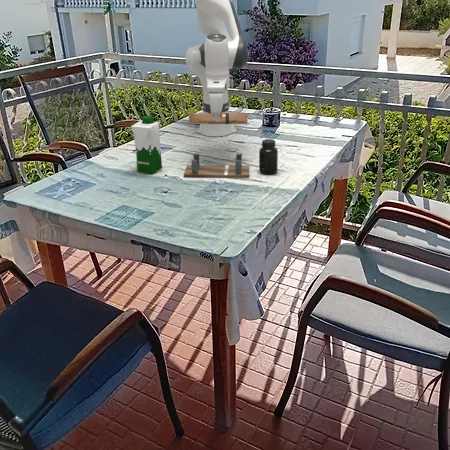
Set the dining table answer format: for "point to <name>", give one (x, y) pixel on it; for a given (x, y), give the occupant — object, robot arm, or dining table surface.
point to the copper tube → (224, 118)
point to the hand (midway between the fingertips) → (218, 119)
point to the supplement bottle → (268, 157)
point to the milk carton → (147, 145)
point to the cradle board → (217, 171)
